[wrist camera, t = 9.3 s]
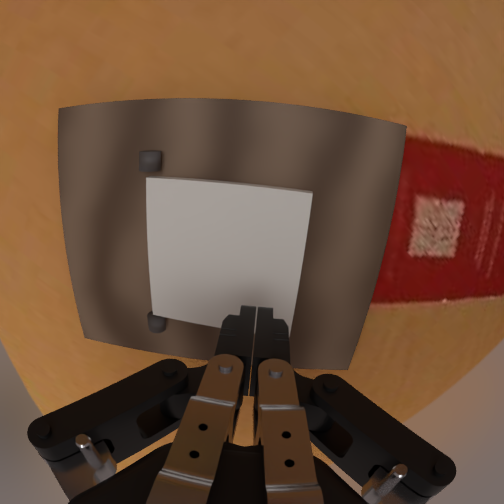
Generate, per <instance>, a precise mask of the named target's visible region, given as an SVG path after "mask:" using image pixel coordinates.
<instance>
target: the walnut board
mask: <svg viewBox="0 0 504 504" xmlns="http://www.w3.org/2000/svg"><path fill="white" fill-rule="evenodd" d="M406 128H407V126H405V125H401V124H397V123H393V122H389V121H385V120H380V119H376V118H371V117H366V116H362V115H356V114H351V113H346V112H340V111H334V110H328V109H322V108H315V107H308V106H300V105H292V104H284V103H274V102H263V101H250V100H233V99H205V98H172V99H144V100H128V101H115V102H105V103H95V104H87V105H79V106H72V107H65V108H59V115H58V171H59V189H60V203H61V213H62V223H63V231H64V239H65V246H66V253H67V259H68V265H69V271H70V276H71V281H72V286H73V291H74V296H75V300H76V305H77V309H78V313H79V318H80V322H81V325H82V329H83V333H84V337H85V338H87V339H91V340H96V341H100V342H104V343H109V344H114V345H118V346H123V347H128V348H133V349H138V350H144V351H149V352H155V353H161V354H167V355H173V356H179V357H186V358H193V359H200V360H208V361H209V360H210V359H211V358H213V357H214V355H215V351H216V346H217V342H218V338H219V335H220V330H221V328H218V327H212V326H207V325H202V324H196V323H191V322H186V321H181V320H176V319H171V318H166V317H162V316H157V315H153V310H152V299H151V288H150V275H149V260H148V242H147V213H146V178H147V177H149V176H163V177H179V178H193V179H206V180H217V181H228V182H239V183H248V184H258V185H267V186H275V187H283V188H291V189H299V190H307V191H312V192H313V196H312V203H311V210H310V217H309V224H308V231H307V238H306V244H305V251H304V257H303V263H302V269H301V275H300V281H299V287H298V293H297V299H296V304H295V310H294V315H293V321H292V326H291V331H290V337H289V345H290V363H291V366H292V368H300V369H330V370H348V368H349V365H350V362H351V360H352V357H353V354H354V351H355V349H356V346H357V343H358V340H359V337H360V334H361V331H362V328H363V325H364V322H365V319H366V315H367V312H368V309H369V306H370V302H371V299H372V296H373V292H374V289H375V285H376V282H377V278H378V274H379V271H380V267H381V263H382V259H383V255H384V251H385V247H386V243H387V238H388V234H389V229H390V225H391V220H392V215H393V210H394V205H395V200H396V195H397V189H398V184H399V178H400V172H401V165H402V159H403V152H404V144H405V136H406ZM254 340H255V334H254V339H253V350H252V360H251V365H252V362H253V351H254Z"/></svg>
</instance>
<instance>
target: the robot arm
mask: <svg viewBox="0 0 504 504" xmlns="http://www.w3.org/2000/svg"><path fill="white" fill-rule="evenodd" d="M255 317H256V306H246V305H241V309H240V315H231V314H229V315H228V316H227V317H226V318H225V319H224V320H223V322H222V326H221V330H220V335H219V338H218V342H217V346H216V351H215V355H214V357H213V358H211V359H210V360H209V362H208V364H206V365H204V366H201V367H196V368H187V366H186V365H185V364H184V363H183V362H181V361H179V360H176V359H164V360H161V361H159V362H157V363H155V364H153V365H151V366H149V367H147V368H145V369H143V370H141V371H139V372H137V373H135V374H133V375H131V376H129V377H127V378H125V379H123V380H121V381H119V382H117V383H114V384H112V385H110V386H108V387H106V388H104V389H102V390H100V391H98V392H95V393H93V394H91V395H89V396H87V397H85V398H82V399H80V400H78V401H76V402H74V403H71V404H69V405H67V406H65V407H62V408H60V409H58V410H56V411H53V412H51V413H49V414H46V415H44V416H42V417H40V418H37V419H35V420H34V421H33V422H32V423H31V424H30V425H29V427H28V432H27V434H28V438H29V441H30V442H31V443H32V445H33V446H34V447H35V449H36V450H37V451H38V453H39V455H40V456H41V457H42V458H43V460H44V461H45V462H46V463H47V464H48V465H49V467H50V468H51V470H52V472H53V473H54V475H55V477H56V479H57V480H58V482H59V484H60V486H61V488H62V489H63V491H64V493H65V494H66V496H67V497H68V499H69V501H70V502H69V503H68V504H425V503H426V502H427V501H429V500H430V499H432V498H433V497H434V496H435V495H437V494H438V493H439V492H440V491H441V490H443V489H444V488H445V487H446V486H447V485H449V484H450V483H451V482H452V481H453V479H454V478H455V475H456V466H455V464H454V462H453V461H452V460H451V459H450V458H449V457H448V456H446V455H445V454H443V453H442V452H440V451H439V450H438V449H436V448H435V447H434V446H432V445H431V444H429V443H428V442H426V441H425V440H424V439H422V438H421V437H419V436H418V435H417V434H415V433H414V432H412V431H411V430H410V429H408V428H407V427H406V426H404V425H403V424H402V423H400V422H399V421H397V420H396V419H395V418H393V417H392V416H391V415H389V414H388V413H387V412H385V411H384V410H383V409H381V408H380V407H379V406H377V405H376V404H375V403H373V402H372V401H371V400H369V399H368V398H367V397H365V396H364V395H363V394H362V393H360V392H359V391H358V390H356V389H355V388H354V387H352V386H351V385H350V384H349V383H347V382H346V381H345V380H343V379H342V378H341V377H339V376H337V375H333V374H322V375H319V376H317V377H316V378H315V379H314V380H313V379H310V378H306V377H303V376H301V375H299V374H298V373H296V372H295V371H294V370H293V368H292V366H291V363H290V345H289V328H288V325H287V324H286V322H285V321H284V319H274V318H273V308H269V307H258V310H257V320H256V330H255V340H254V351H253V362H252V373H251V384H250V395H249V396H254V405H253V446H245V447H244V446H239V445H236V444H233V440H234V435H235V431H236V426H237V422H238V417H239V413H240V407H241V405H242V401H243V396H248V389H249V380H250V370H251V360H252V350H253V339H254V328H255ZM177 428H178V431H177V433H176V436H175V438H174V441H173V442H172V443H168V444H166V445H163V446H161V447H159V448H157V449H155V450H154V451H152V452H150V453H149V454H147V455H146V456H144V457H143V458H141V459H139V460H138V461H136V462H135V463H133V464H131V465H130V466H128V467H126V468H125V469H123V470H121V471H120V472H118V473H116V470H117V463H119V462H121V461H123V460H125V459H126V458H128V457H130V456H132V455H134V454H135V453H137V452H139V451H141V450H142V449H144V448H146V447H148V446H149V445H151V444H153V443H154V442H156V441H158V440H159V439H161V438H163V437H164V436H166V435H168V434H169V433H171V432H173V431H174V430H176V429H177ZM310 441H311V442H312V443H313V444H314V445H315V446H316V447H317V448H318V449H320V450H321V451H322V452H323V453H324V454H325V455H326V456H327V457H328V458H329V459H330V460H332V461H333V462H334V463H335V464H336V465H337V466H338V467H339V468H341V469H342V470H343V471H344V472H345V473H346V474H348V475H349V476H350V477H351V478H352V479H353V480H354V481H356V482H357V483H358V484H359V485H360V486H362V490H361V495H362V497H361V496H360V495H359V494H358V493H357V492H356V491H355V490H353V489H352V488H351V487H350V486H349V485H348V484H347V483H346V482H345V481H344V480H343V479H341V477H339V476H338V475H337V474H336V473H335V472H334V471H333V470H332V469H331V468H330V467H329V466H328V465H327V464H326V463H324V462H323V461H322V460H320V459H319V458H317V457H315V456H313V453H312V447H311V442H310ZM115 473H116V474H115Z"/></svg>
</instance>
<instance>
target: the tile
mask: <svg viewBox="0 0 504 504" xmlns="http://www.w3.org/2000/svg"><path fill="white" fill-rule="evenodd" d="M312 196H313V192H312V191H307V190H299V189H291V188H283V187H275V186H267V185H258V184H248V183H239V182H228V181H217V180H206V179H193V178H179V177H163V176H149V177H147V178H146V213H147V242H148V260H149V275H150V288H151V299H152V310H153V315H157V316H162V317H166V318H171V319H176V320H181V321H186V322H191V323H196V324H202V325H207V326H212V327H218V328H221V326H222V322H223V320H224V319H225V318H226V317H227V316H228V315H229V314H231V315H240V309H241V305H246V306H256V317H255V328H254V334H255V330H256V320H257V310H258V307H269V308H273V318H274V319H284V321H285V322H286V324H287V325H288V328H289V337H290V331H291V326H292V321H293V315H294V310H295V304H296V299H297V293H298V287H299V281H300V275H301V269H302V263H303V257H304V251H305V244H306V238H307V231H308V224H309V217H310V210H311V203H312Z"/></svg>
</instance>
